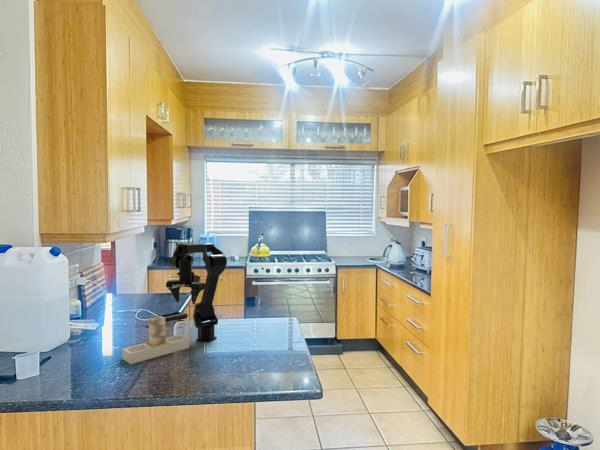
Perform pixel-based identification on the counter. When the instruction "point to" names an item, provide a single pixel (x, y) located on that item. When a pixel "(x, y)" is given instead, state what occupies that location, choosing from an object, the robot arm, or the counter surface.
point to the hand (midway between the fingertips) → (185, 303)
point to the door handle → (173, 316)
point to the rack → (154, 349)
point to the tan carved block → (157, 331)
